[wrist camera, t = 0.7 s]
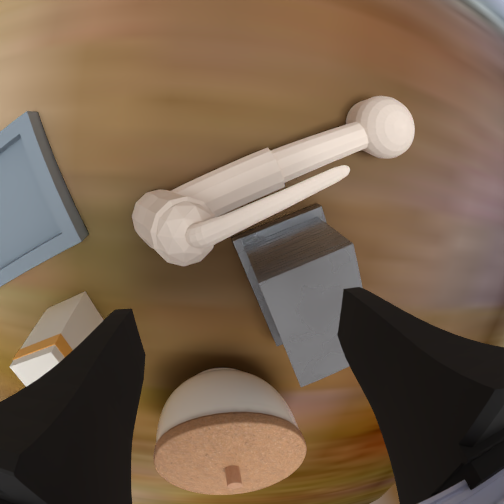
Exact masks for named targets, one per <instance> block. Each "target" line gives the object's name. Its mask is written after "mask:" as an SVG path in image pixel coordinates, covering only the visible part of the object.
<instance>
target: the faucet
mask: <svg viewBox="0 0 504 504" xmlns="http://www.w3.org/2000/svg"><path fill="white" fill-rule="evenodd" d="M414 130H415V127H414V121H413V118H412V116H411V114H410V112H409V111H408V109H407V108H406V107H405V106H404V105H403V104H402V103H400V102H399V101H397V100H396V99H394V98H391V97H386V96H375V97H372V98H369V99H367V100H363V101H360V102H358V103H356V104H355V105H354V106H353V107H352V108H351V109H350V111H349V112H348V115H347V118H346V125H343V126H340V127H337V128H334V129H331V130H328V131H325V132H322V133H319V134H316V135H313V136H310V137H307V138H304V139H301V140H298V141H295V142H293V143H290V144H287V145H284V146H281V147H279V148H276V149H273V150H271V151H270V150H269V149H268V147H267V148H265V149H262V150H260V151H257V152H255V153H253V154H250V155H248V156H245V157H243V158H241V159H238V160H236V161H234V162H231V163H229V164H227V165H225V166H222V167H220V168H218V169H216V170H213V171H211V172H209V173H207V174H205V175H202V176H200V177H198V178H196V179H194V180H192V181H190V182H188V183H185V184H183V185H181V186H179V187H177V188H175V189H173V190H171V191H168V190H162V189H159V190H155V191H151V192H147V193H145V194H144V195H143V196H142V197H141V198H140V199H139V200H138V201H137V202H136V204H135V207H134V210H133V214H132V220H133V224H134V228H135V231H136V232H137V234H138V235H139V236H140V237H141V238H142V239H143V240H144V241H145V242H146V243H147V244H148V246H149V247H151V248H153V249H155V251H156V252H157V253H158V254H159V255H160V256H161V257H162V258H163V259H164V260H165V261H166V262H168V263H172V264H176V265H180V266H187V265H190V264H194V263H197V262H200V261H201V260H202V259H203V258H204V257H205V256H206V255H207V254H208V253H209V252H210V251H211V250H212V249H213V247H214V244H216V243H218V242H220V241H222V240H224V239H226V238H228V237H230V236H232V235H234V234H236V233H238V232H240V231H242V230H244V229H246V228H248V227H250V226H252V225H254V224H256V223H258V222H260V221H262V220H264V219H266V218H268V217H270V216H272V215H274V214H276V213H278V212H280V211H282V210H284V209H286V208H288V207H290V206H292V205H294V204H296V203H298V202H300V201H302V200H303V199H305V198H307V197H309V196H311V195H313V194H315V193H317V192H319V191H321V190H323V189H325V188H327V187H329V186H331V185H333V184H334V183H336V182H338V181H340V180H341V179H343V178H344V177H346V176H347V175H348V174H349V172H350V168H349V167H348V166H345V165H342V166H338V167H334V168H332V169H330V170H327V171H325V172H323V173H320V174H318V175H316V176H313V177H311V178H309V179H307V180H304V181H302V182H300V183H297V184H295V185H293V186H291V187H288V188H286V189H284V190H282V191H279V192H277V193H275V194H272V195H270V196H267V197H265V198H263V199H260V200H258V201H255V202H253V203H251V204H248V205H246V206H244V207H241V208H239V209H237V210H234V211H232V212H230V213H227V212H229V211H231V210H233V209H236V208H238V207H240V206H242V205H245V204H247V203H249V202H251V201H254V200H256V199H258V198H260V197H263V196H265V195H267V194H270V193H272V192H274V191H276V190H279V189H281V188H283V187H285V184H284V183H285V182H287V181H290V180H292V179H294V178H296V177H299V176H301V175H303V174H306V173H308V172H310V171H312V170H315V169H317V168H319V167H322V166H324V165H327V164H329V163H331V162H334V161H336V160H338V159H341V158H343V157H346V156H348V155H350V154H353V153H355V152H358V151H360V150H362V151H365V152H367V153H369V154H371V155H373V156H376V157H378V158H394V157H397V156H399V155H401V154H402V153H404V152H405V151H406V150H407V149H408V148H409V147H410V145H411V143H412V141H413V138H414ZM225 213H227V214H225ZM222 214H225V215H222ZM220 215H222V216H220ZM218 216H219V217H218Z"/></svg>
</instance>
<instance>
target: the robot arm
mask: <svg viewBox="0 0 504 504" xmlns="http://www.w3.org/2000/svg"><path fill="white" fill-rule="evenodd" d="M337 336H338V338H339V341H340V344H341V347H342V350H343V352H344V355H345V358H346V360H347V362H348V364H349V365H350V367H351V369H352V371H353V373H354V375H355V377H356V379H357V380H358V382H359V384H360V386H361V388H362V390H363V392H364V394H365V395H366V397H367V399H368V401H369V403H370V405H371V407H372V409H373V411H374V414H375V416H376V419H377V421H378V424H379V427H380V430H381V432H382V435H383V438H384V441H385V445H386V448H387V451H388V454H389V457H390V461H391V465H392V469H393V473H394V476H395V481H396V486H397V491H398V496H399V501H400V504H504V348H503V347H498V346H493V345H489V344H484V343H480V342H477V341H474V340H470V339H467V338H464V337H461V336H458V335H455V334H452V333H450V332H447V331H445V330H442V329H440V328H437V327H435V326H433V325H431V324H429V323H427V322H424V321H422V320H420V319H418V318H416V317H414V316H413V315H411V314H409V313H407V312H405V311H403V310H401V309H400V308H398V307H396V306H394V305H392V304H391V303H389V302H387V301H385V300H384V299H382V298H380V297H378V296H376V295H375V294H373V293H371V292H369V291H367V290H365V289H363V288H361V287H354V288H347V289H343V298H342V306H341V313H340V321H339V328H338V335H337ZM144 366H145V352H144V349H143V346H142V343H141V339H140V336H139V332H138V329H137V326H136V322H135V318H134V315H133V311H132V309H118V310H114V311H113V312H112V313H111V314H110V315H109V316H108V317H107V318H106V319H105V320H103V321H102V322H101V323H100V324H99V325H98V326H97V327H96V328H95V329H94V330H93V331H92V332H91V333H90V334H89V335H88V336H87V337H86V338H85V339H84V340H83V341H82V342H81V343H80V344H79V345H78V346H77V347H76V348H75V349H74V350H73V351H71V352H70V353H69V354H68V355H67V356H66V357H65V358H64V359H63V360H62V361H60V362H59V363H58V364H57V365H56V366H54V367H53V368H52V369H51V370H49V371H48V372H47V373H45V374H44V375H43V376H41V377H40V378H39V379H37V380H36V381H34V382H33V383H31V384H30V385H28V386H27V387H25V388H23V389H22V390H20V391H19V392H17V393H16V394H14V395H12V396H10V397H8V398H7V399H5V400H3V401H1V402H0V504H132V495H131V450H132V437H133V430H134V425H135V420H136V414H137V409H138V404H139V399H140V394H141V389H142V384H143V379H144Z"/></svg>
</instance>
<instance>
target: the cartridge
mask: <svg viewBox="0 0 504 504" xmlns="http://www.w3.org/2000/svg"><path fill="white" fill-rule="evenodd" d="M102 321H103V318H102V317H101V315H100V314H99V312H98V311H97V309H96V308H95V306H94V304H93V303H92V301H91V300H90V298H89V296H88V295H87V293H86V291H85V292H82V293H80V294H78V295H76V296H74V297H71V298H69V299H67V300H65V301H63V302H60V303H58V304H56V305H54V306H52V307H49V308H47V310H46V311H45V312H44V314H43V315H42V317H41V318H40V320H39V321H38V323H37V324H36V326H35V327H34V329H33V330H32V332H31V333H30V335H29V336H28V338H27V339H26V341H25V343H24V344H23V346H22V347H21V349H20V350H18V352H17V353H16V355H15V357H14V358H13V362H12V364H11V365H10V368H11V369H12V370H13V372H14V373H15V374H16V375H17V377H18V378H19V379H20V380H21V381H22V383H23V384H24V385H25V386H26V387H27V386H28V385H30V384H31V383H33V382H34V381H36V380H37V379H39V378H40V377H41V376H43V375H44V374H45V373H47V372H48V371H49V370H51V369H52V368H53V367H54V366H56V365H57V364H58V363H59V362H60V361H62V360H63V359H64V358H65V357H66V356H67V355H68V354H69V353H70V352H71V351H73V350H74V349H75V348H76V347H77V346H78V345H79V344H80V343H81V342H82V341H83V340H84V339H85V338H86V337H87V336H88V335H89V334H90V333H91V332H92V331H93V330H94V329H95V328H96V327H97V326H98V325H99V324H100V323H101V322H102Z"/></svg>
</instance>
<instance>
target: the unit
mask: <svg viewBox="0 0 504 504" xmlns="http://www.w3.org/2000/svg"><path fill="white" fill-rule="evenodd" d="M232 240H233V243H234V245H235V248H236V250H237V253H238V255H239V258H240V260H241V262H242V265H243V267H244V270H245V272H246V274H247V277H248V279H249V282H250V284H251V286H252V289H253V291H254V293H255V296H256V298H257V301H258V303H259V305H260V308H261V310H262V312H263V315H264V317H265V320H266V322H267V324H268V327H269V329H270V331H271V334H272V336H273V338H274V341H275V343H276V345H277V346H279V345H282V344H283V345H284V347H285V350H286V352H287V355H288V357H289V359H290V362H291V364H292V367H293V369H294V372H295V374H296V376H297V379H298V381H299V384H300V386H301V387H303V386H306V385H308V384H310V383H313V382H315V381H317V380H320V379H322V378H324V377H327V376H329V375H331V374H333V373H336V372H338V371H340V370H342V369H344V368H346V367H349V366H350V365H349V364H348V362H347V360H346V358H345V355H344V352H343V350H342V347H341V344H340V341H339V338H338V336H337V335H338V328H339V321H340V313H341V306H342V298H343V289H347V288H354V287H361V288H362V283H361V278H360V273H359V268H358V263H357V259H356V254H355V250H354V245H353V243H352V242H350V241H349V240H348V239H346V238H345V237H344V236H342V235H341V234H340V233H339V232H337V231H336V230H335V229H333V228H332V227H331V226H329V225H328V224H327V223H326V220H325V216H324V213H323V209H322V206H320V205H319V204H315V205H312V206H310V207H307V208H304V209H302V210H299V211H297V212H294V213H292V214H289V215H287V216H284V217H282V218H279V219H276V220H274V221H271V222H269V223H266V224H264V225H261V226H259V227H256V228H254V229H251V230H249V231H246V232H244V233H241V234H239V235H236V236H234V237H232Z"/></svg>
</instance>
